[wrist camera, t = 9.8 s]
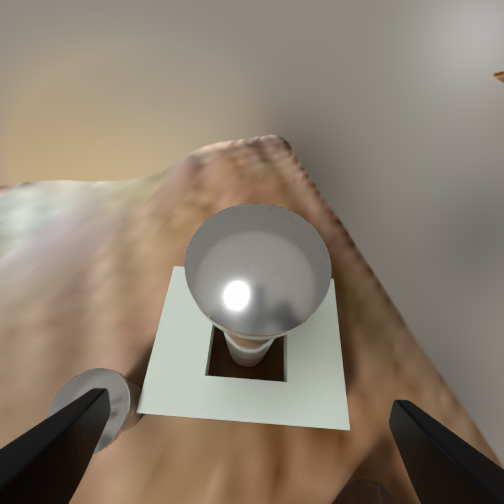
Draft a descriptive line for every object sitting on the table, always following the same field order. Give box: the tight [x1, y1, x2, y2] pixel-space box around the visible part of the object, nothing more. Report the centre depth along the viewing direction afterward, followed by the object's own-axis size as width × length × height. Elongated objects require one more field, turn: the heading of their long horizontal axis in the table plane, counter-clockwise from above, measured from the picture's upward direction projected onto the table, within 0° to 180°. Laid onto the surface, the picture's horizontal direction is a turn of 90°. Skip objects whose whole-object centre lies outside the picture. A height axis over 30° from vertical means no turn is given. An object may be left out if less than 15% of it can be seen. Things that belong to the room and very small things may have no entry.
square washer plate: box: [136, 266, 350, 430], centre depth 19 cm, size 10×13×4 cm
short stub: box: [47, 368, 142, 454], centre depth 16 cm, size 4×4×5 cm
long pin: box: [184, 203, 332, 367], centre depth 14 cm, size 4×4×16 cm
